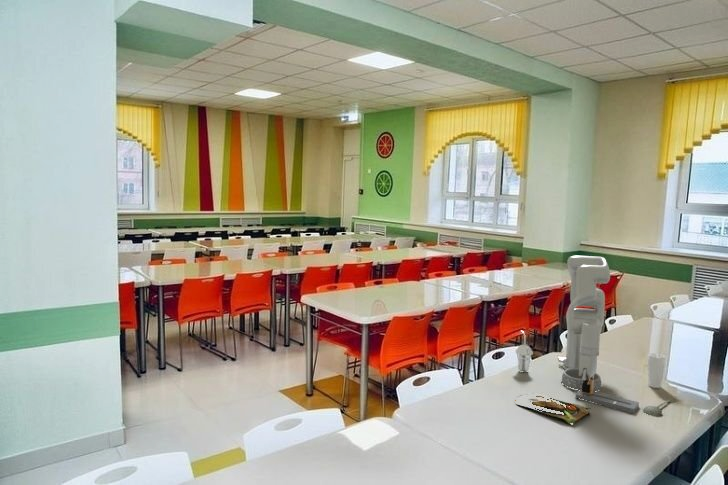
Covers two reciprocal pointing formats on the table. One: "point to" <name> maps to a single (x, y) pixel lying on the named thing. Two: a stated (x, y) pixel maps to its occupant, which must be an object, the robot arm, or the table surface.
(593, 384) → the fader knob
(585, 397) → the fader console
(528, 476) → the table surface
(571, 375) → the dog bowl
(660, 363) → the drinking glass
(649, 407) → the soupspoon
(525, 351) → the cup with straw
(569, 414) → the prepared meal
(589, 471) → the table surface
